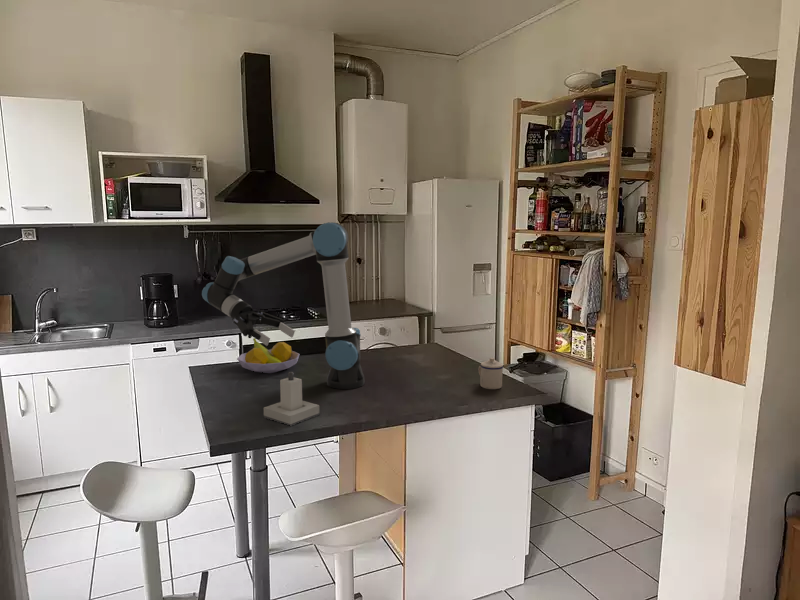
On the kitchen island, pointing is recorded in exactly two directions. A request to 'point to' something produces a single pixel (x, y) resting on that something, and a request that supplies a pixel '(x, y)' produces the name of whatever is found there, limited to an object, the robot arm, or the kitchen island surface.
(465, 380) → the kitchen island surface
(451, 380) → the kitchen island surface
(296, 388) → the plug
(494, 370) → the teacup with lid
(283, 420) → the socket
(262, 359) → the fruit bowl
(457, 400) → the kitchen island surface
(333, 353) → the robot arm
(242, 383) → the kitchen island surface
